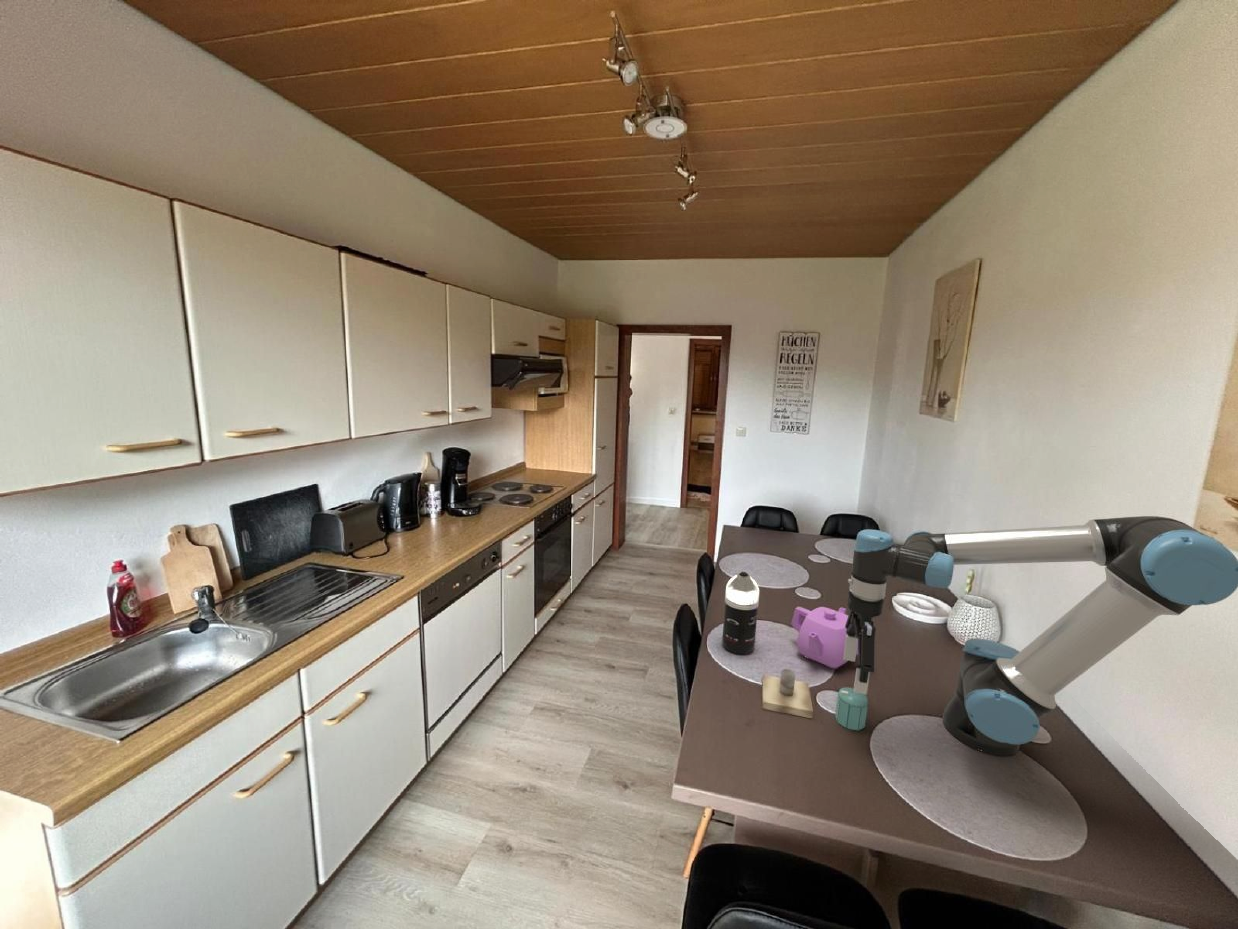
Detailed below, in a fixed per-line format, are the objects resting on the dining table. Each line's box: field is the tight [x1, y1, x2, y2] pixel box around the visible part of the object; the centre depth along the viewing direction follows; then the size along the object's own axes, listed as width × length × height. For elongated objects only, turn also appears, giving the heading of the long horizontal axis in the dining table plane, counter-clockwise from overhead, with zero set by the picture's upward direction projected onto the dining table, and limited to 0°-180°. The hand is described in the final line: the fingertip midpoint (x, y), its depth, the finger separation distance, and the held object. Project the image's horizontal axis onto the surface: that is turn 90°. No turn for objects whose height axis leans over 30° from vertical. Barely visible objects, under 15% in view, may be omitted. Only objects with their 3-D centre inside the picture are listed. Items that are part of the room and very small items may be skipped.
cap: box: [834, 686, 869, 731], centre depth 121 cm, size 6×6×8 cm
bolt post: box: [761, 668, 814, 719], centre depth 128 cm, size 12×12×8 cm
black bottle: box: [721, 571, 760, 655], centre depth 151 cm, size 10×10×25 cm
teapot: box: [790, 605, 858, 670], centre depth 148 cm, size 19×18×15 cm
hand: (854, 675), depth 119 cm, fingers open, 13 cm apart
